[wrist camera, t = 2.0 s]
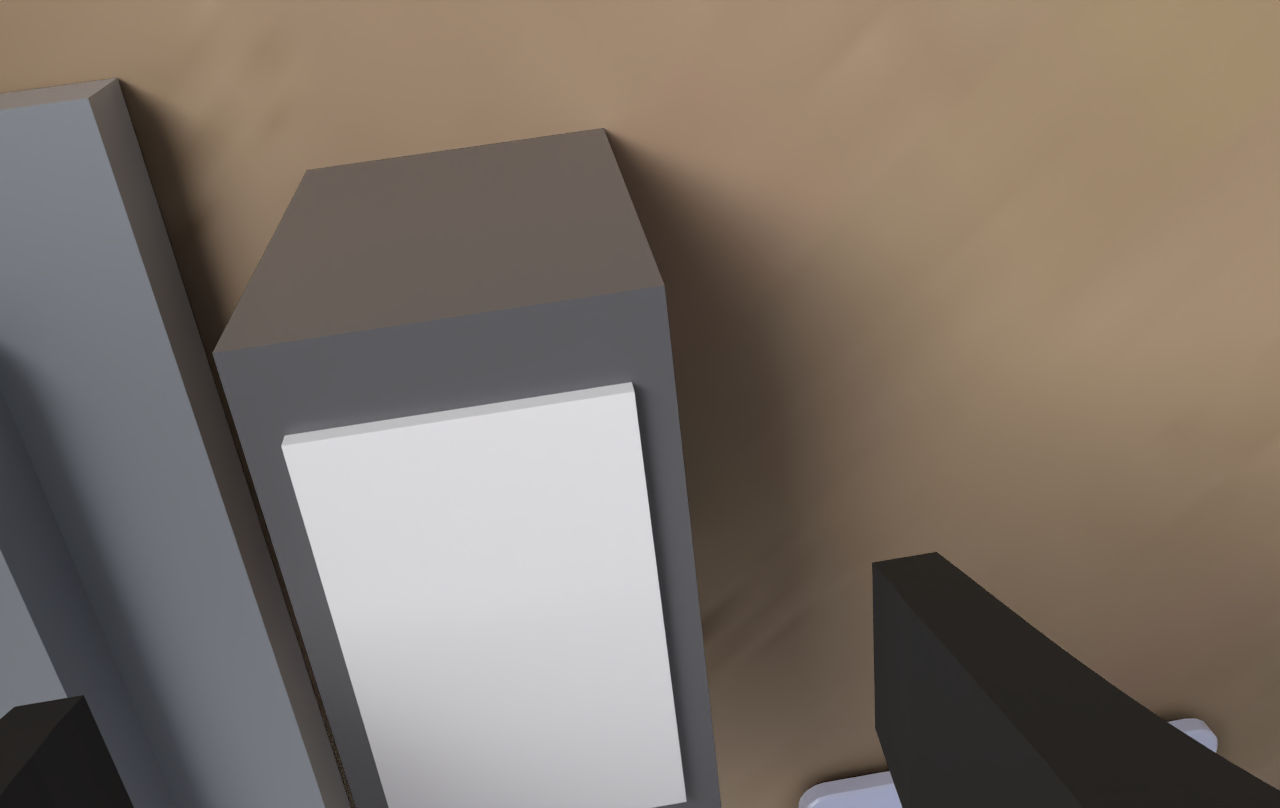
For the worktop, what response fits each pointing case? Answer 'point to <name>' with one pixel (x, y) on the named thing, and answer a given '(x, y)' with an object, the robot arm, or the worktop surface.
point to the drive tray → (132, 487)
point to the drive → (480, 479)
